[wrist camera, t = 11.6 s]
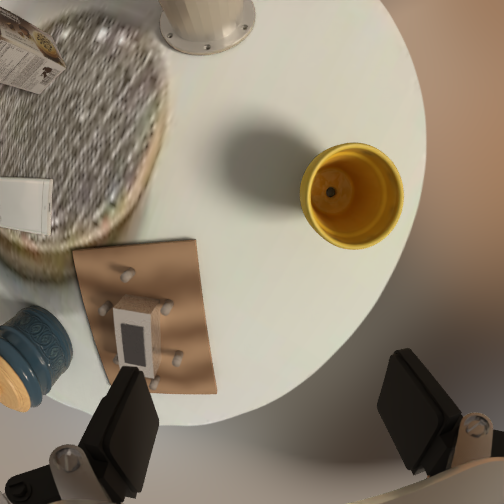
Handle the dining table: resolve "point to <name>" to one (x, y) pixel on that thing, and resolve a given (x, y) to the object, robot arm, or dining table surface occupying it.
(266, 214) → the dining table surface
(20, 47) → the coffee box
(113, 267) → the wooden peg board
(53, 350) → the canister
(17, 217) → the hard drive
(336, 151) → the plant pot
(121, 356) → the block
